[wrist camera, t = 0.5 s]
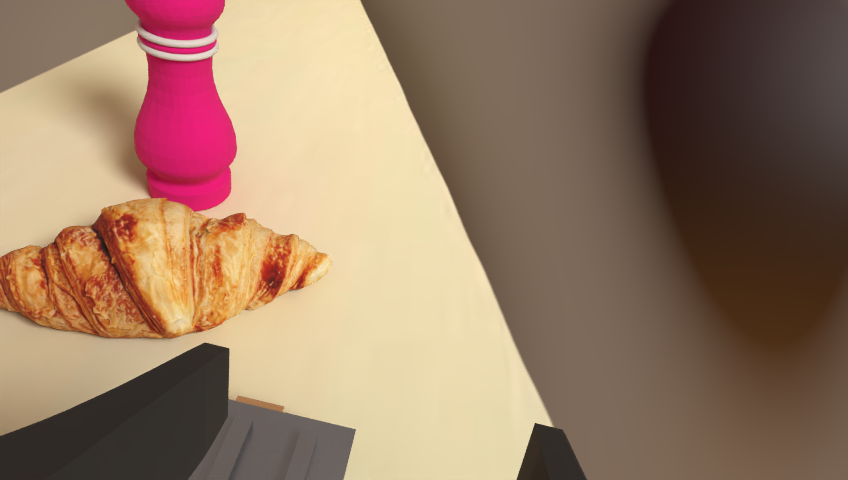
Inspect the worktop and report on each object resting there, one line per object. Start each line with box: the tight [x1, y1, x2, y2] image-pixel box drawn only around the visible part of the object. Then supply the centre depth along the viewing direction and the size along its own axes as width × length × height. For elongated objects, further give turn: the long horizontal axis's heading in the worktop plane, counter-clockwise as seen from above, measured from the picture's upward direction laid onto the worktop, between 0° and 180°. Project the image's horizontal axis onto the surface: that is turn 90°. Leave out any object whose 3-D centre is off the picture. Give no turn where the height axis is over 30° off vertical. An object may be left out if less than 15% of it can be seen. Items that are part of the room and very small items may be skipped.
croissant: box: [0, 198, 332, 338], centre depth 34 cm, size 21×10×8 cm, turn 111°
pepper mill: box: [125, 0, 237, 211], centre depth 37 cm, size 7×7×20 cm
